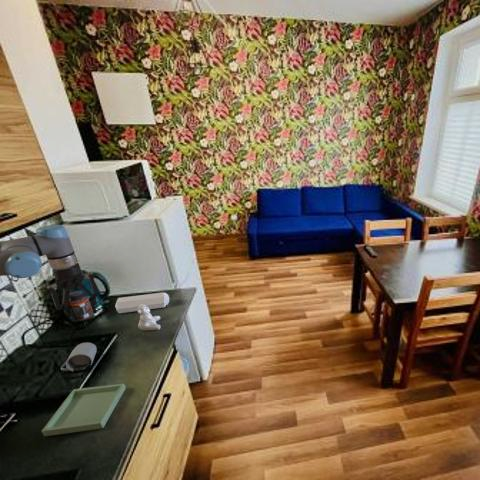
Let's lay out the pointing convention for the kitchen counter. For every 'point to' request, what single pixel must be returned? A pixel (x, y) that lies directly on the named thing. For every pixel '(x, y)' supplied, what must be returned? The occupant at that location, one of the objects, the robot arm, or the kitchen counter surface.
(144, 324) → the sitting furry creature
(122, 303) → the white rounded cylinder
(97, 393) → the bottle tray
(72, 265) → the robot arm
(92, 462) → the kitchen counter surface
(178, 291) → the kitchen counter surface
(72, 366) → the ceramic mug
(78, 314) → the supplement bottle
